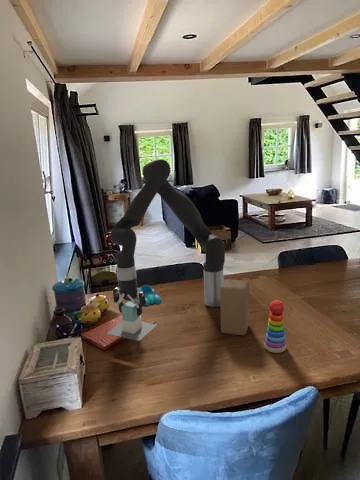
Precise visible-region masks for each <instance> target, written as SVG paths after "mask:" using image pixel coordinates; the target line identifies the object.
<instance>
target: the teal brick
mask: <svg viewBox="0 0 360 480" xmlns="http://www.w3.org/2000/svg"><path fill="white" fill-rule="evenodd" d="M121 308H122V313H121V315H122V319H123V320H126V321H131V322H134V321H135V320H136V319H137V318H139V317H140V316H141V315H140V316H137V307H136V305H135V304H133V303H132V301H127V302H126V303H124V305H123V306H121Z"/></svg>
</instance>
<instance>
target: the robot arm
mask: <svg viewBox="0 0 360 480" xmlns="http://www.w3.org/2000/svg"><path fill="white" fill-rule="evenodd" d="M170 175H171V166H170V164H169V162H168V161H167V160H166V159H163V158H158V159H154V160H151V161H150V162H148V163H146V164H144V166H143V167H142V176H143V178H144V180H145V181H146V182H145V183H144V185H143V186H142V187H141V189H140V190H139V192H138V193H137V194H136V195H135V196H134V197H133V199H132V200H131V202H130V204H129V205H128V207H127V209H126V211H125V213H124V215H123V216H122V217H121V218H120V219H119V220H118V222H117V223H116V224H115V225H114V226H113V228H111V231H110V233H109V239H110V241H111V243H112V244H114V245H116V246H121V248H122V249H121V250H120V251H118V252H117V253H116V255H115V259H116V260H115V261H116V275H117V276H116V277H117V284H118V286H116V287H115V288H113V289H112V294H113V295H112V296H113V303H116V304H117V305H118V311H119V313H120V314H122V308H121V306H123V305H124V304H125V302H124V301H127V302H132V303H133V304H135V305H136V307H137V316H142V314H143V307H145V306H144V305H146V300H145V293H144V291H142V292H138V291H137V288H138V278H137V269H136V265H135V264H136V263H135V252H136V247H137V246H136V245H137V235H136V233H135V231H134V230H133V229H132V228H135V227H138V226H139V225H140V224H141V222H142V221H143V219H144V217H145V214H146V213H147V211H148V209H149V207H150V205H151V203H152V202H153V200H154V198H155V197H156V195H157V194H158V195H159V197H161V198H162V200H163V202H164V203H166V205H167V206H168V207H169V209H170V210H171V211H172V212H173V215H175V217H176V218H177V219H178V220H179V222H180V223H182V225H183V226H184V227H185V228H186V229H187V230H188V231H189V232H190V234H192V236H193V237H194V238H195V240H196V242H197V243H198V245H199V247H200V248H201V250H202V251H203V252H204V253H205V262H203V266H202V267H203V292H204V304H205V306H207V307H211V308H219V307H220V287H221V286H222V284H223V282H224V280H225V278H224V265H225V262H226V260H225V259H226V257H225V254H226V245H225V242H224V241H223V239H222V238H221V237H219V236H217V235H216V234H214V233H213V232H212V231H211V230H210V229H209V228H208V226H207V225H206V224H205V223H204V220H203V218H202V216H201V213H200V212H199V210H198V208H197V207H196V205H195V204H194V203H193V201H192V200H191V199H190V198H189V197H188V196H187V195H185V194H184V193H183V192H181V191H179V190H178V189H177V188H175V187H174V186H173V185H172V184H171V183H170V181H169V180H168V179H169V177H170ZM137 295H138V296H137Z"/></svg>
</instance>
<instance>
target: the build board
mask: <svg viewBox="0 0 360 480" xmlns="http://www.w3.org/2000/svg"><path fill="white" fill-rule="evenodd" d="M143 324H144V325H143ZM142 325H143V326H142V328H140V329H139V330H138V331H137V332H136V333H135V334H133V333H128V332H123V331H122V326H121V322H120V323H118V324H117V325H116V326H114V327H113V328H111V329H110V330H109V331H108V332H106V334H107V335H111V336H116V337H120V338H122V339H123V338H124V339H128V340H132V341H135V342H140V341H141V340H142V339H143V338H145V337H146V336H147V335H148V334H149V333H150V332H151V331H153V330H154V329H155V327H157V326H158V324H155V323H149V322H145V321H142Z"/></svg>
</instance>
